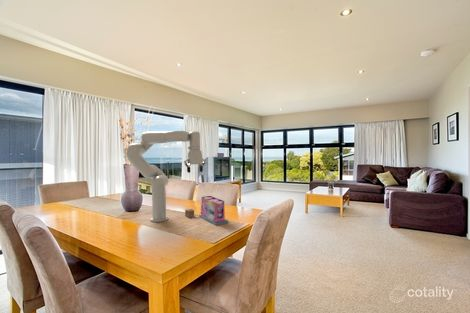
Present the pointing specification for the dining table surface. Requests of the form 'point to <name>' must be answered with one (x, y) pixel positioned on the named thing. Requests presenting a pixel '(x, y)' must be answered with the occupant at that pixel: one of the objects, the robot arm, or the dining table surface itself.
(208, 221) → the board
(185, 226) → the dining table surface
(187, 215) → the walnut block
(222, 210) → the gum box
